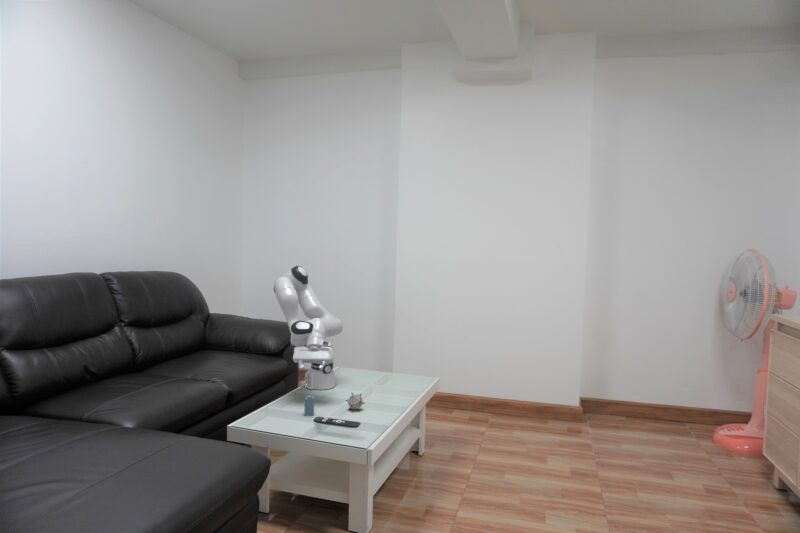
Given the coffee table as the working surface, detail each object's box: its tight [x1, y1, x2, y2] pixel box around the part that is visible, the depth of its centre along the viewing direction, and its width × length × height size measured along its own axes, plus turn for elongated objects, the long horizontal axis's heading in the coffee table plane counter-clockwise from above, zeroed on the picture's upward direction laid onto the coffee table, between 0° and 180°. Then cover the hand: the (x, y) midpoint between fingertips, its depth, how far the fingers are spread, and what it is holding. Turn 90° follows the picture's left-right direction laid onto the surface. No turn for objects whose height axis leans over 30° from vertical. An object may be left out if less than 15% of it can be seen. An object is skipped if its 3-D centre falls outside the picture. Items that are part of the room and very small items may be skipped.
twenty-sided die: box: [345, 392, 366, 412], centre depth 269 cm, size 9×8×10 cm
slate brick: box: [304, 395, 315, 417], centre depth 260 cm, size 4×4×9 cm
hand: (311, 369), depth 272 cm, fingers open, 8 cm apart
